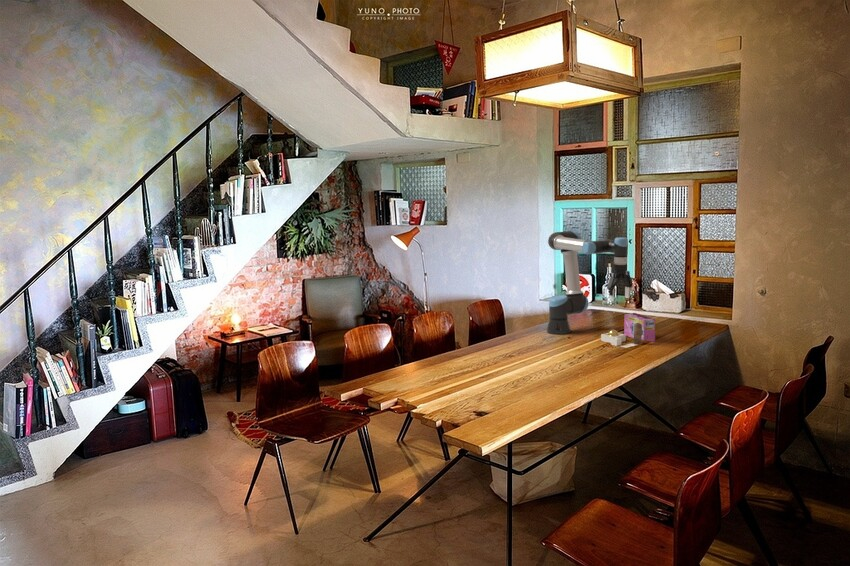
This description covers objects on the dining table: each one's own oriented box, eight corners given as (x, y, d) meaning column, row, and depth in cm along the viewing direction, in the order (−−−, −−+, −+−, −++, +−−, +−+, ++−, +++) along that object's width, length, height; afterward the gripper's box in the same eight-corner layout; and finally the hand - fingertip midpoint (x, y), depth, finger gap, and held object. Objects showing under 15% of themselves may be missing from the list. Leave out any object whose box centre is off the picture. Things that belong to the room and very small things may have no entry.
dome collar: (601, 341, 388) (601, 334, 387) (612, 338, 393) (612, 331, 393) (614, 343, 380) (614, 337, 379) (625, 341, 385) (625, 334, 384)
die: (611, 344, 377) (611, 338, 377) (615, 343, 380) (615, 337, 379) (616, 346, 374) (616, 339, 373) (621, 345, 376) (621, 338, 376)
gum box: (622, 334, 408) (622, 313, 406) (633, 333, 410) (634, 312, 408) (643, 342, 385) (644, 320, 383) (655, 341, 387) (656, 319, 385)
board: (596, 343, 387) (596, 341, 386) (614, 339, 395) (614, 337, 395) (626, 350, 368) (626, 348, 368) (644, 345, 377) (644, 343, 377)
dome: (604, 339, 387) (604, 329, 386) (612, 337, 391) (612, 328, 390) (614, 341, 382) (614, 331, 381) (622, 339, 385) (622, 329, 384)
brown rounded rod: (631, 343, 378) (632, 322, 377) (636, 342, 381) (637, 321, 379) (637, 344, 375) (638, 323, 373) (642, 343, 377) (643, 323, 375)
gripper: (611, 266, 373) (610, 302, 377) (639, 262, 387) (638, 297, 391) (601, 265, 380) (600, 300, 383) (629, 261, 393) (628, 295, 397)
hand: (619, 299), depth 387 cm, fingers open, 13 cm apart
